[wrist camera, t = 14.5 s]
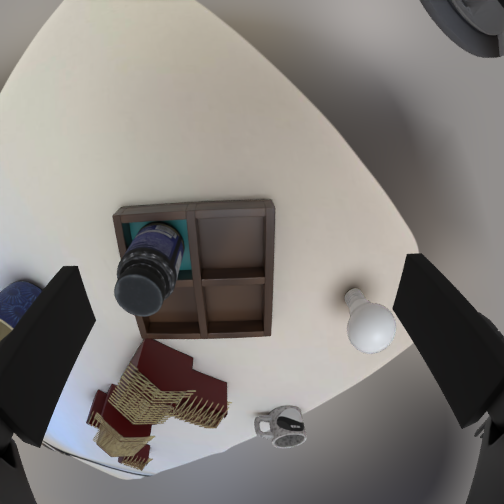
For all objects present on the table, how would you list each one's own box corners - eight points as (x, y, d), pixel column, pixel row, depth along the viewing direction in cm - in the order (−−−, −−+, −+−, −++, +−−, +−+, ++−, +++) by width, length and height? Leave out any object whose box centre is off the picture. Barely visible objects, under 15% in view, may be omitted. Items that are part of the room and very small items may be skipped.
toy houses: (129, 327, 41) (112, 377, 32) (243, 378, 48) (246, 427, 39) (80, 428, 56) (71, 460, 47) (151, 457, 63) (147, 488, 54)
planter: (32, 336, 42) (7, 378, 32) (-2, 280, 36) (-36, 317, 27) (78, 330, 41) (54, 379, 32) (41, 265, 36) (4, 308, 26)
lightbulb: (378, 292, 42) (411, 340, 32) (345, 318, 43) (370, 370, 34) (357, 266, 39) (392, 315, 30) (322, 295, 41) (346, 349, 31)
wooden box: (271, 199, 34) (275, 207, 32) (268, 321, 42) (271, 336, 40) (120, 206, 33) (112, 215, 31) (146, 324, 41) (141, 338, 39)
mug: (305, 406, 53) (312, 433, 48) (294, 422, 56) (298, 448, 50) (257, 403, 52) (260, 432, 46) (248, 420, 54) (251, 447, 49)
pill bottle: (127, 235, 34) (93, 284, 24) (167, 210, 33) (142, 254, 23) (155, 273, 37) (134, 331, 27) (195, 252, 36) (184, 308, 26)
